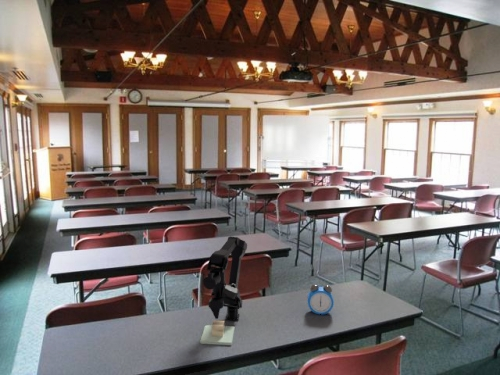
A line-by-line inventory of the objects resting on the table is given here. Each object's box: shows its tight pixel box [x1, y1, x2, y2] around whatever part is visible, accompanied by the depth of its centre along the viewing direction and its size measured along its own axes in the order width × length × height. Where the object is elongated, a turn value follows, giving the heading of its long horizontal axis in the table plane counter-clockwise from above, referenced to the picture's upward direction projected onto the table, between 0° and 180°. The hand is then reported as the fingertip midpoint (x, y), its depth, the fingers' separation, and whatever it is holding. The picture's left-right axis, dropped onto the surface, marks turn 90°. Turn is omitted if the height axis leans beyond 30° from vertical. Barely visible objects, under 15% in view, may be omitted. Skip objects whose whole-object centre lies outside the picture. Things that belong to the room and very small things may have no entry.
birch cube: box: [211, 319, 225, 337], centre depth 175 cm, size 5×5×5 cm
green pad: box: [199, 324, 236, 346], centre depth 175 cm, size 14×14×1 cm
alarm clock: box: [307, 283, 335, 315], centre depth 199 cm, size 13×6×15 cm, turn 83°
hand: (218, 313), depth 173 cm, fingers open, 9 cm apart
